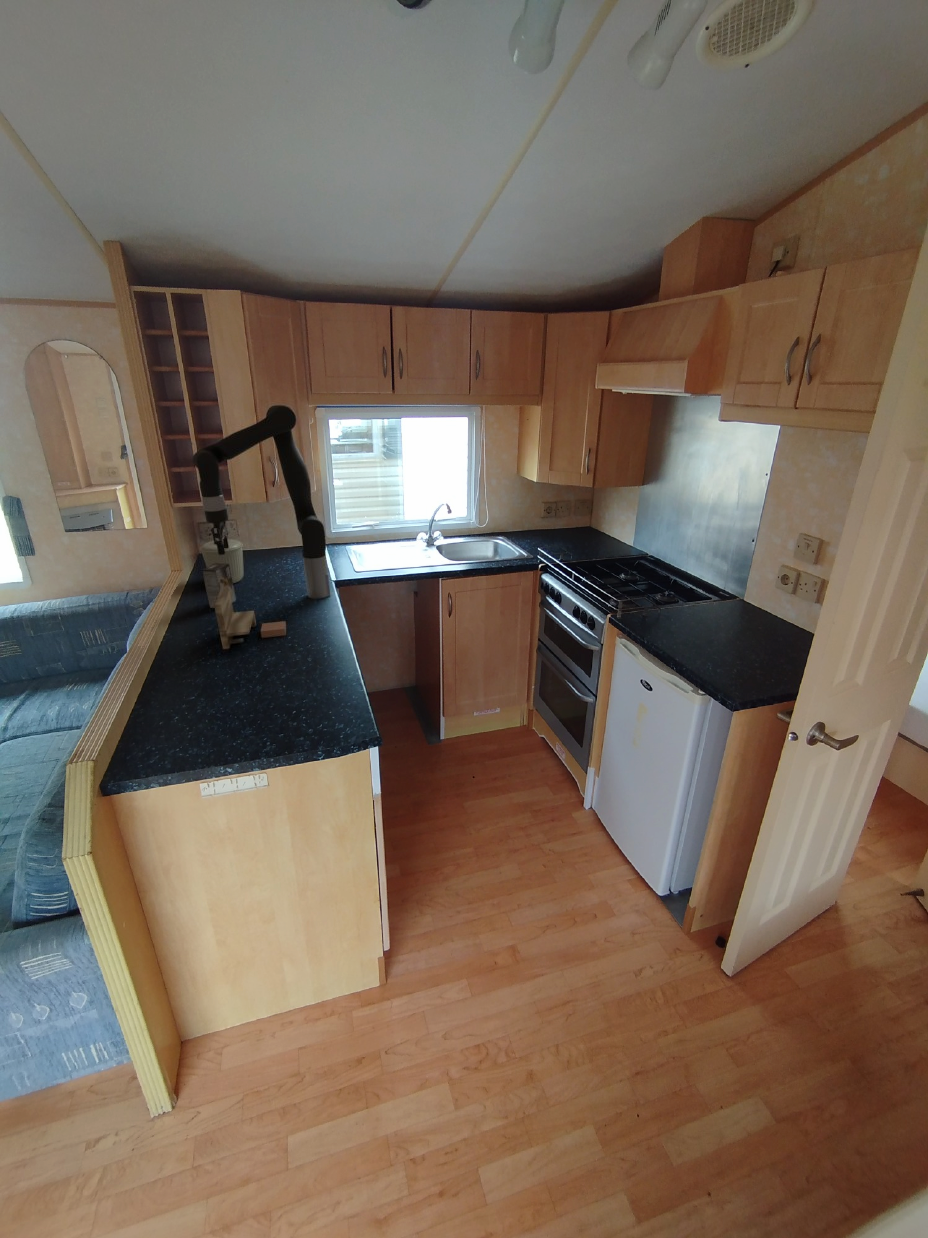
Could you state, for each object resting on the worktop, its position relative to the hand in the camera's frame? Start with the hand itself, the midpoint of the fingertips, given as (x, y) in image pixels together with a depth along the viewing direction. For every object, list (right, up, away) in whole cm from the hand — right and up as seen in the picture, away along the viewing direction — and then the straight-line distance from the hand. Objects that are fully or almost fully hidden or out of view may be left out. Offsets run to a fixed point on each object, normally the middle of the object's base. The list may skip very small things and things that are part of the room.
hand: (224, 551), depth 208 cm
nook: (+10, -31, -10) cm, 35 cm away
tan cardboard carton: (+21, -30, -8) cm, 38 cm away
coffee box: (-8, -19, +19) cm, 28 cm away
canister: (-18, -8, +45) cm, 49 cm away
